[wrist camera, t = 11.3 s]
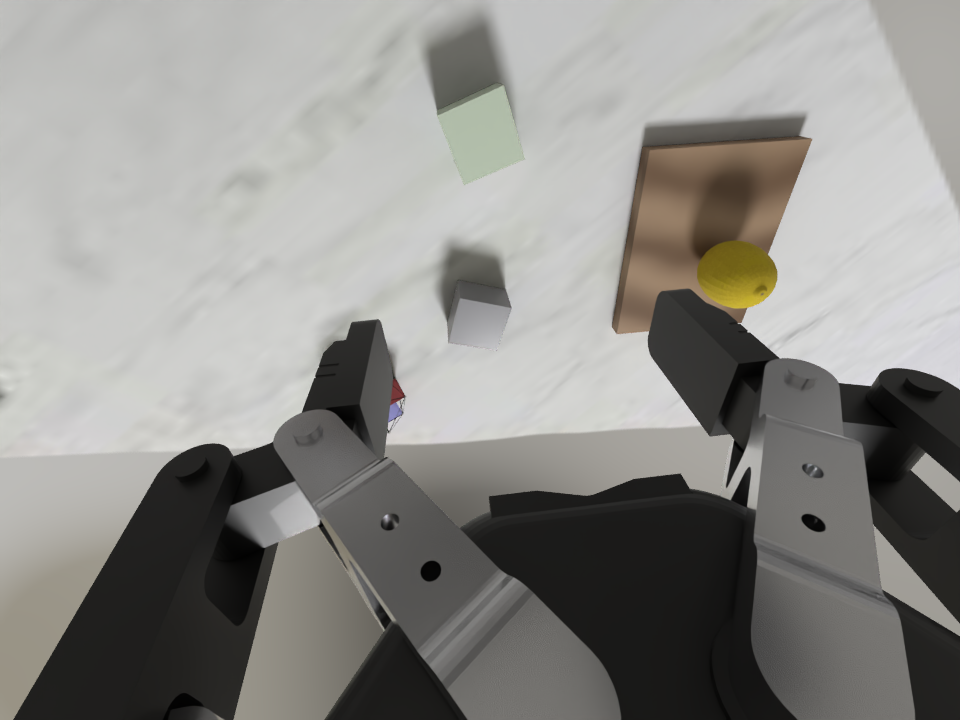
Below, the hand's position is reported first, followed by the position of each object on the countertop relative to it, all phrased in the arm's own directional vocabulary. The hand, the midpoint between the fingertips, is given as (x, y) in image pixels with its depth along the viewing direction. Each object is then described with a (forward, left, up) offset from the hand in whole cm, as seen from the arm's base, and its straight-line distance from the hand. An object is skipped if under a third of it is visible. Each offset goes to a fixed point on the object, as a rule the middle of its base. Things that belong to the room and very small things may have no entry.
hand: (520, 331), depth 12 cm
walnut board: (+9, +22, -28) cm, 37 cm away
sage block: (-2, +1, -28) cm, 28 cm away
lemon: (+10, +23, -26) cm, 37 cm away
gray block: (+14, 0, -28) cm, 31 cm away
